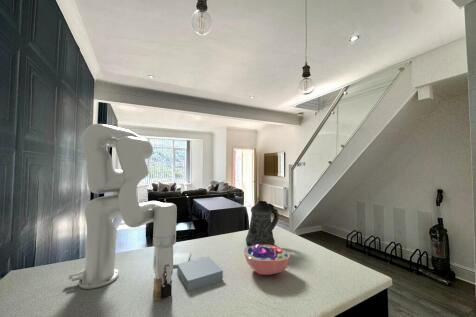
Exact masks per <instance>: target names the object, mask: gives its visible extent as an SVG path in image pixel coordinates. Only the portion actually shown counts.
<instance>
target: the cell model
mask: <svg viewBox="0 0 476 317" xmlns="http://www.w3.org/2000/svg"><path fill="white" fill-rule="evenodd" d="M243 255H244V257H245V260H246V263H247V265H248V266H249V267H250V268H251V270H253V271H254V272H255V273H256V274H258V275H262V276H267V275H274V274H280V273H283V272H284V271H285V270H286V269H287V268H288V266H289V265H288V264H289V261H290V257H291V253H290V252H288V251H287V250H285V249H283V248H282V247H279V246H276V245H274V246H272V245H260V244H257V245H253V246H248V247H247V246H246V247H245V248H244V249H243Z"/></svg>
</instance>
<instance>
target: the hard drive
mask: <svg viewBox="0 0 476 317" xmlns="http://www.w3.org/2000/svg"><path fill="white" fill-rule="evenodd" d="M190 258H191V252H175V253H174V252H173V268H177V264H180V263H184V262H188V261H190Z"/></svg>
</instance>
